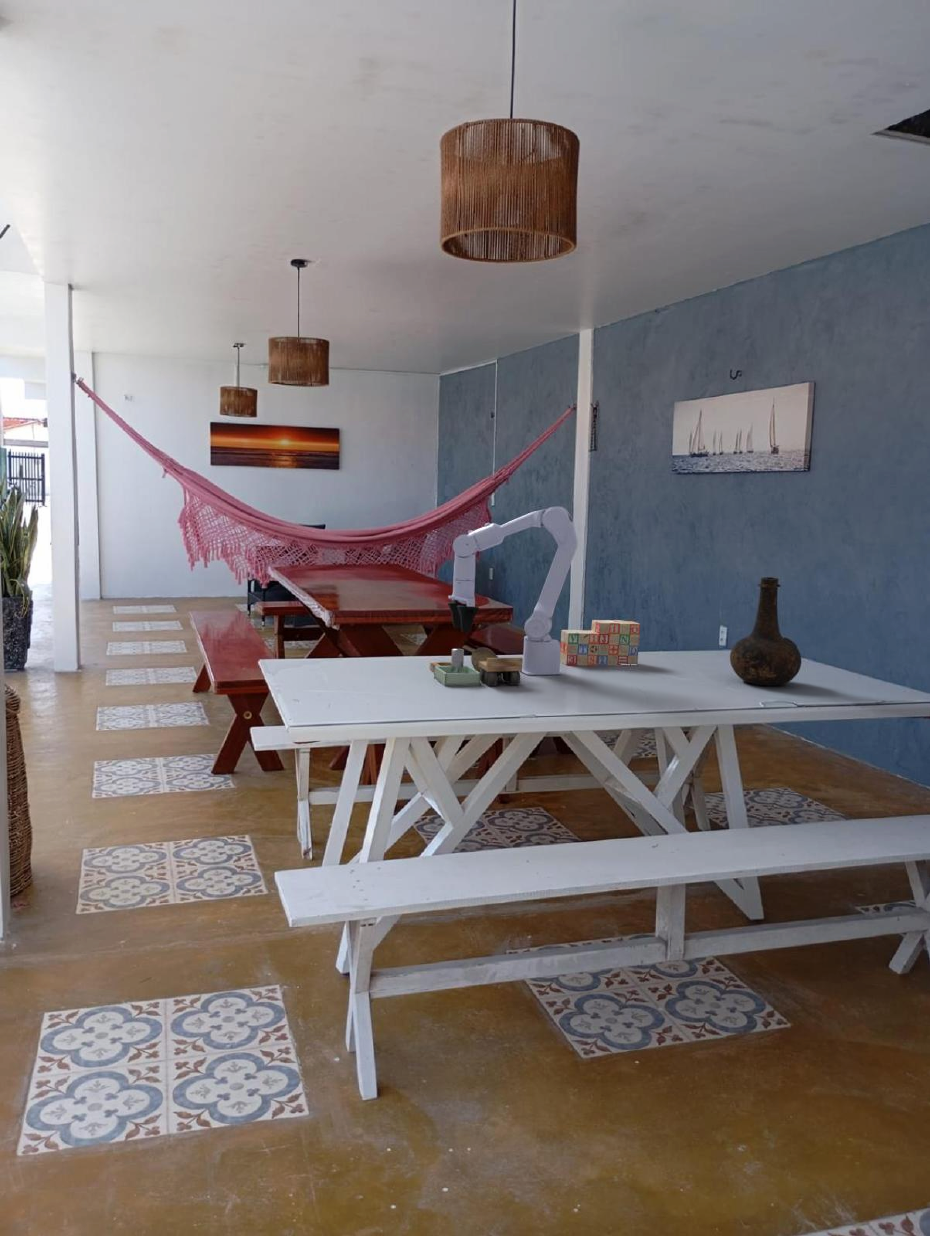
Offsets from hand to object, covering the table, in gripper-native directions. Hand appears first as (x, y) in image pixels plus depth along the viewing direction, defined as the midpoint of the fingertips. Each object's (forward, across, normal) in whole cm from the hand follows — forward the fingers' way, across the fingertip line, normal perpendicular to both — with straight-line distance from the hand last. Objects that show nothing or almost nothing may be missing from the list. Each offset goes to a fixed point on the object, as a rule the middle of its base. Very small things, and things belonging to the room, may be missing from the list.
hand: (461, 630), depth 261 cm
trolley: (+10, +24, +3) cm, 26 cm away
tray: (+10, +20, -7) cm, 23 cm away
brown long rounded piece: (+10, +12, +3) cm, 16 cm away
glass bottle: (+10, +29, +75) cm, 81 cm away
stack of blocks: (+10, -2, +42) cm, 43 cm away
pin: (+9, +20, -7) cm, 23 cm away
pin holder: (+10, +7, -6) cm, 14 cm away
